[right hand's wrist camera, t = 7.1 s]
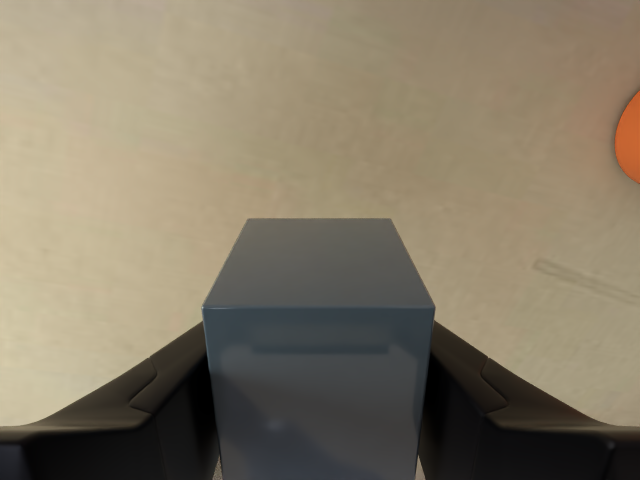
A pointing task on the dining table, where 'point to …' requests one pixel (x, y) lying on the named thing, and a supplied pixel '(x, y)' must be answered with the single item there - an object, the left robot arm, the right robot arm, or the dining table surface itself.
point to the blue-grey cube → (318, 352)
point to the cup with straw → (629, 139)
